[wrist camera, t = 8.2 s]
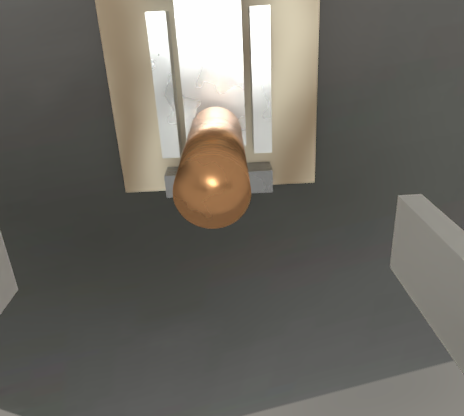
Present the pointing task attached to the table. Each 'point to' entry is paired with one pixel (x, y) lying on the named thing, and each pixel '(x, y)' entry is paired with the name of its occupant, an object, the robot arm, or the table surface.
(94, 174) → the table surface
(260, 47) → the rails
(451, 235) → the robot arm
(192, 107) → the ram
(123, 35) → the board
